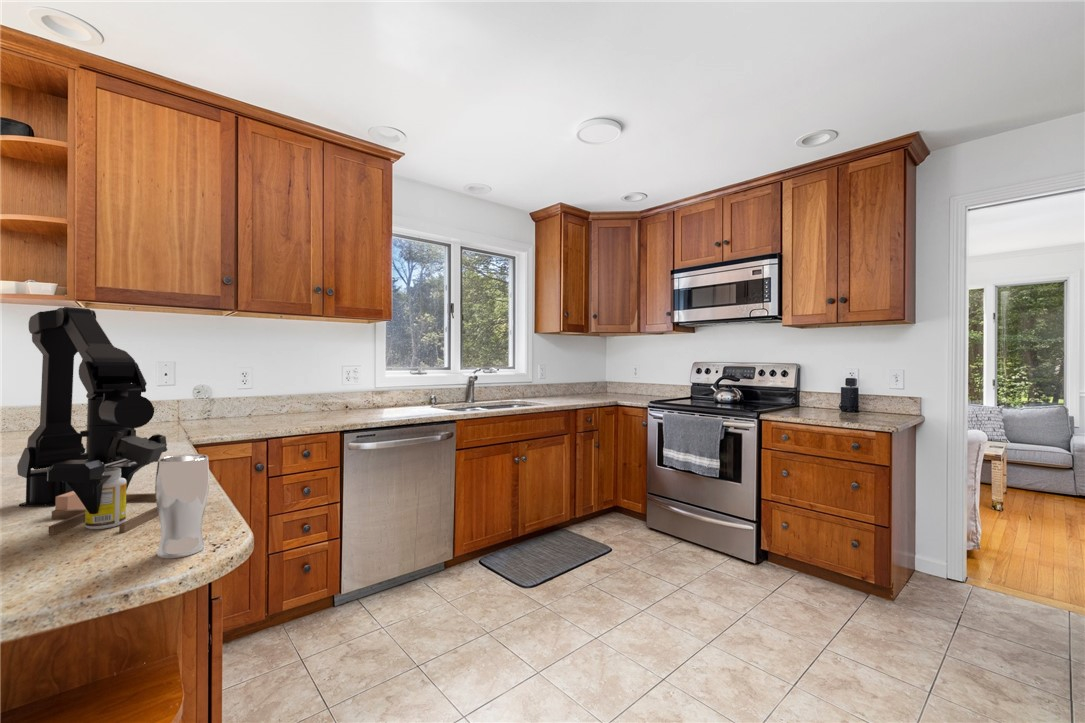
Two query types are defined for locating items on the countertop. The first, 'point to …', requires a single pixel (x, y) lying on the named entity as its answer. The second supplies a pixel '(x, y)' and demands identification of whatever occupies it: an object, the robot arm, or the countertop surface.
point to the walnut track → (78, 516)
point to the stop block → (68, 502)
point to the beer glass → (181, 503)
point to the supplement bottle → (109, 503)
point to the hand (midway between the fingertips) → (106, 508)
